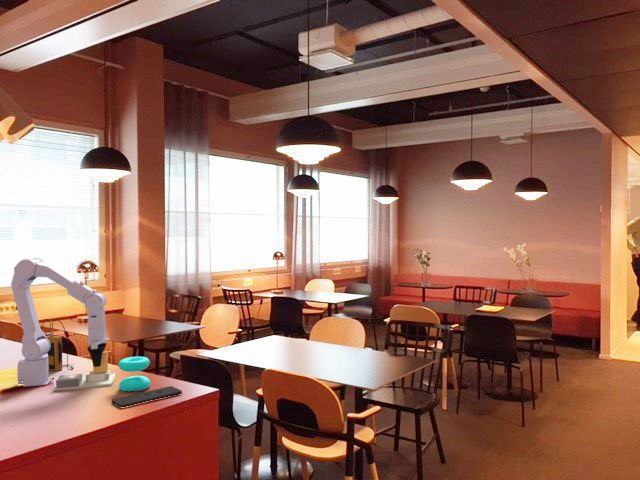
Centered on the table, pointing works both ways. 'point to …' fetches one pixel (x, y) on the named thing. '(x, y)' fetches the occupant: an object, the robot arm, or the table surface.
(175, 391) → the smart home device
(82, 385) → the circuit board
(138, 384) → the donuts
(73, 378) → the grey dome button
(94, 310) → the robot arm
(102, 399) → the table surface
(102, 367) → the plug
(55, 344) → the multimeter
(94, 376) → the frame
